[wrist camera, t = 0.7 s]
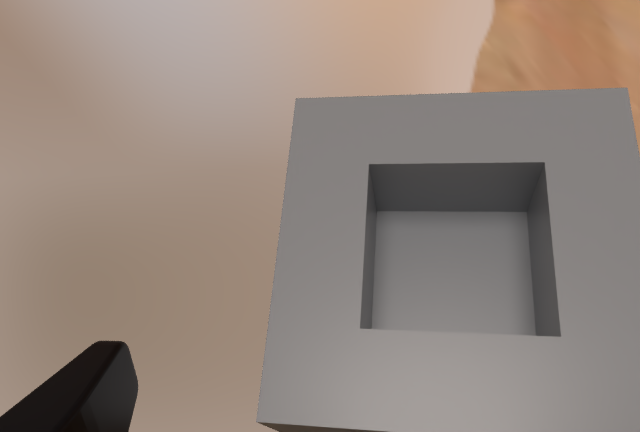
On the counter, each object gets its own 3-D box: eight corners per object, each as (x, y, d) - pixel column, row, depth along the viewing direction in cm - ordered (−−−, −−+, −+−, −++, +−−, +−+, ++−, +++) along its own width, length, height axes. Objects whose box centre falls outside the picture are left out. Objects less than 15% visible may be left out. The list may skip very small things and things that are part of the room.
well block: (635, 461, 19) (691, 453, 15) (287, 435, 21) (256, 421, 17) (594, 154, 24) (627, 87, 20) (315, 158, 27) (295, 98, 23)
